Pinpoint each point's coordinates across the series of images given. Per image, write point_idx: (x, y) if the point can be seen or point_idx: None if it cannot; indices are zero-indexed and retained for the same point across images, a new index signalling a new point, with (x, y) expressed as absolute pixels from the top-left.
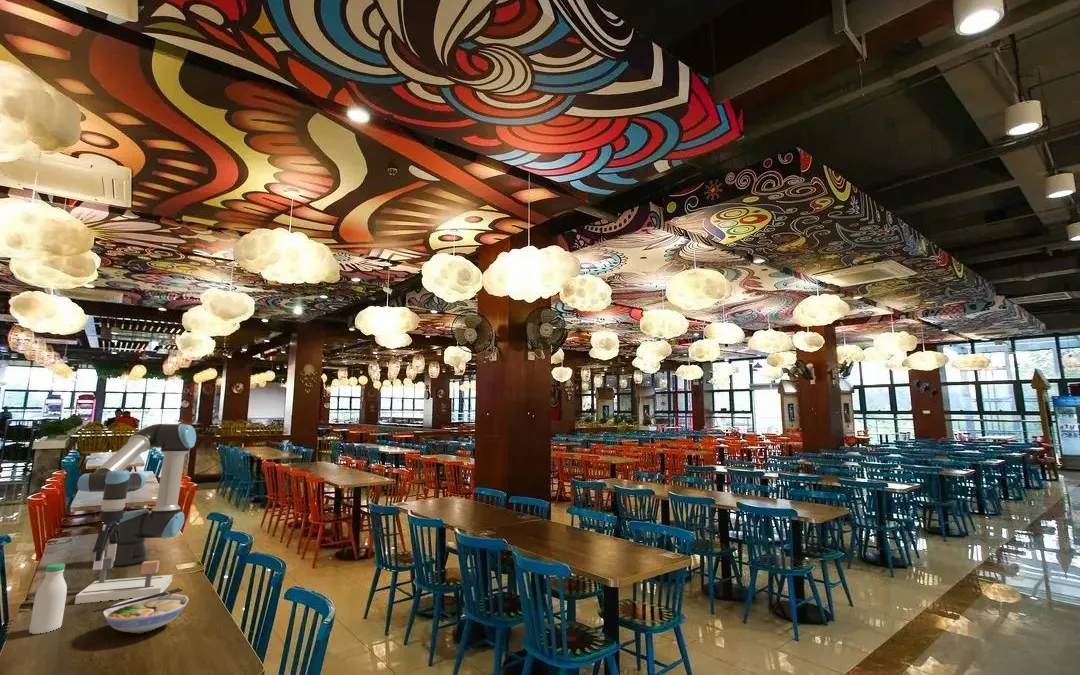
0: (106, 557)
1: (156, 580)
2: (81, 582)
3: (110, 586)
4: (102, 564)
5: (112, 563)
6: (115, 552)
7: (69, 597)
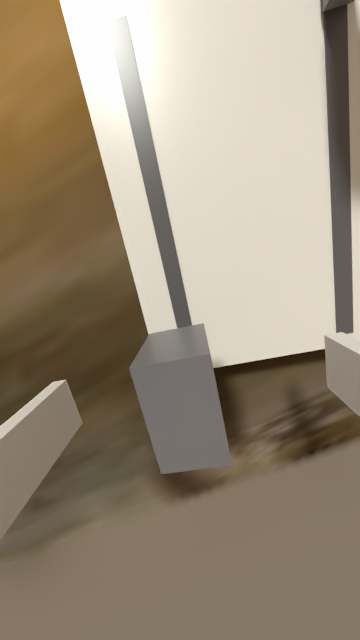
0: (168, 417)
1: (186, 20)
2: (82, 440)
3: (268, 257)
4: (356, 347)
5: (167, 339)
6: (8, 424)
7: (258, 388)
